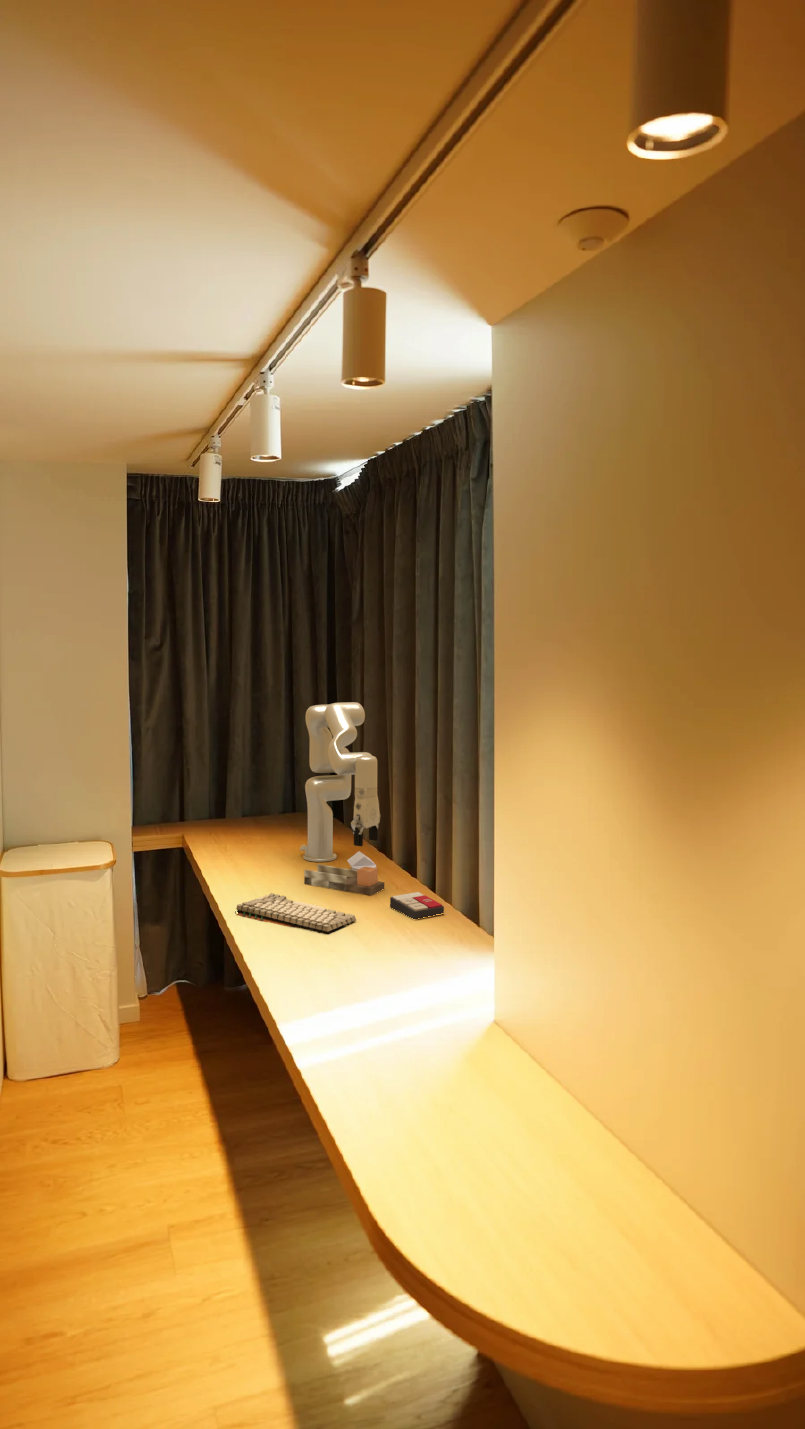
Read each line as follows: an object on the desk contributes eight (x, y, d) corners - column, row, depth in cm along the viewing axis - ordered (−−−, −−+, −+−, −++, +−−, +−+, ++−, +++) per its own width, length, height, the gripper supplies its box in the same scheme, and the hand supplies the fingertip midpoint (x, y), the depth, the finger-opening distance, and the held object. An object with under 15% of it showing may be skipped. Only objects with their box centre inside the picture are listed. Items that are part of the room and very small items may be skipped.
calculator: (415, 909, 295) (389, 894, 308) (414, 923, 296) (389, 907, 308) (444, 904, 301) (418, 889, 313) (444, 917, 301) (418, 902, 314)
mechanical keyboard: (363, 921, 296) (363, 910, 296) (326, 938, 280) (326, 927, 280) (268, 900, 316) (268, 890, 316) (228, 916, 300) (228, 905, 299)
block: (357, 884, 325) (357, 869, 324) (364, 880, 329) (365, 866, 329) (369, 886, 322) (370, 871, 322) (377, 882, 327) (377, 868, 326)
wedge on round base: (346, 869, 353) (354, 879, 340) (346, 851, 352) (354, 860, 340) (370, 868, 355) (378, 877, 343) (370, 850, 355) (379, 859, 342)
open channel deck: (304, 883, 333) (304, 869, 333) (318, 878, 341) (318, 864, 340) (371, 895, 320) (371, 880, 320) (384, 889, 328) (384, 875, 327)
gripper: (362, 797, 314) (362, 849, 315) (388, 789, 329) (388, 839, 330) (342, 795, 317) (342, 846, 319) (369, 787, 332) (369, 836, 334)
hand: (365, 842), depth 324 cm, fingers open, 9 cm apart
